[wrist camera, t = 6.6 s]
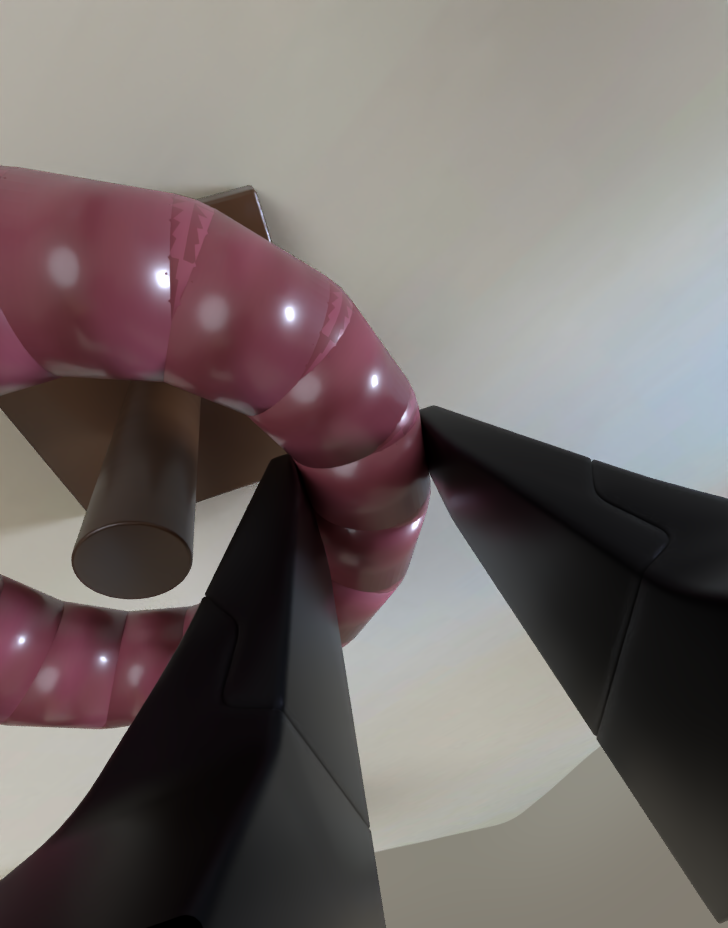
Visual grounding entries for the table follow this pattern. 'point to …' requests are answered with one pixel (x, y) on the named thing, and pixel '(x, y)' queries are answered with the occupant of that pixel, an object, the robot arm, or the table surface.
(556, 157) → the table surface
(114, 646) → the ring
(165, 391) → the stand
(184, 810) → the robot arm
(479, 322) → the table surface
